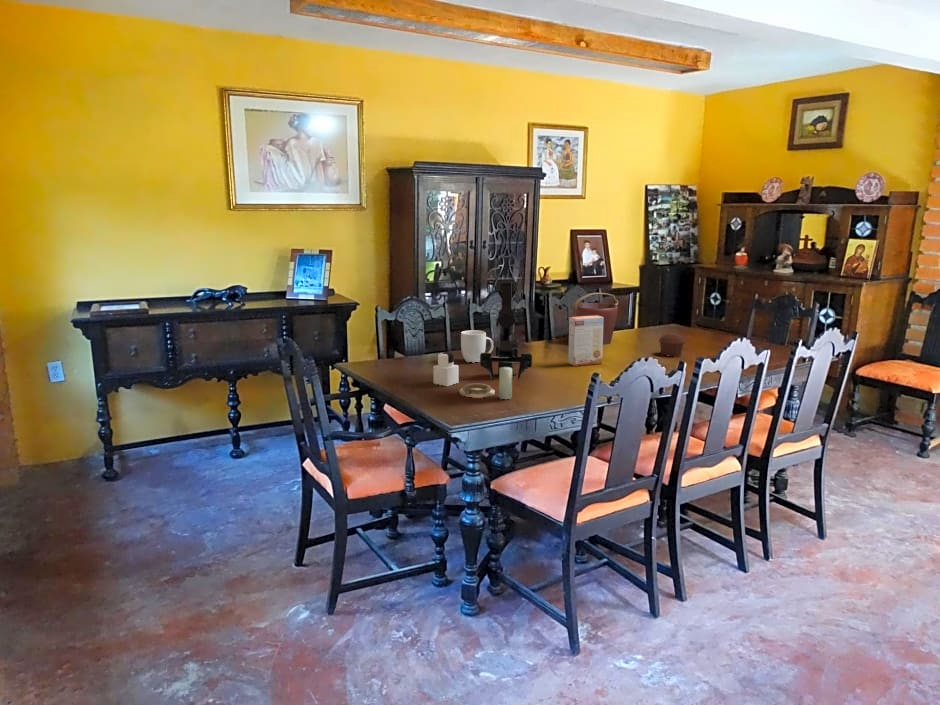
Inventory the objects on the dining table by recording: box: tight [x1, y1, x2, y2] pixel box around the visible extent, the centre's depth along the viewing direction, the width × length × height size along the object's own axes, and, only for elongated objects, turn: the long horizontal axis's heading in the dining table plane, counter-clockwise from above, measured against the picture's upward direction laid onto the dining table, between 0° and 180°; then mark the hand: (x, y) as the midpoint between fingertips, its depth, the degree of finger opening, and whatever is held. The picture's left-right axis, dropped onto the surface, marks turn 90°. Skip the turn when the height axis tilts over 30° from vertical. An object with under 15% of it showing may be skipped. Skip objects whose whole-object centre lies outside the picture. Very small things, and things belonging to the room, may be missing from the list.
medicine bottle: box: [432, 351, 460, 387], centre depth 264 cm, size 7×7×12 cm
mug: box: [460, 329, 494, 364], centre depth 302 cm, size 15×11×13 cm
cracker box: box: [567, 315, 604, 367], centre depth 296 cm, size 14×6×21 cm, turn 109°
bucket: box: [572, 292, 619, 346], centre depth 343 cm, size 24×22×25 cm
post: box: [498, 367, 513, 400], centre depth 244 cm, size 5×5×11 cm
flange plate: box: [458, 382, 496, 399], centre depth 251 cm, size 13×13×4 cm
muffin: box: [658, 332, 686, 357], centre depth 316 cm, size 12×11×10 cm
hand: (505, 380), depth 243 cm, fingers open, 9 cm apart
